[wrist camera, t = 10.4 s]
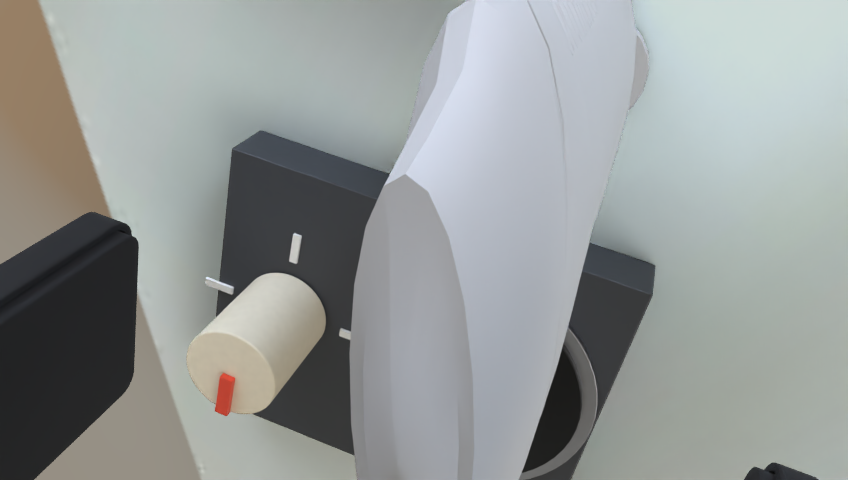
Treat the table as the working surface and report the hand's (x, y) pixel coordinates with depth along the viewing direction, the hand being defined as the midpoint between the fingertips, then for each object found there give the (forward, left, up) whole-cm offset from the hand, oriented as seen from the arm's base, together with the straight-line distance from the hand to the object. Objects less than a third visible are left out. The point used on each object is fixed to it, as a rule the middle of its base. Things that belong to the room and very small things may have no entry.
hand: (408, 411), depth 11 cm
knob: (+9, +14, -18) cm, 25 cm away
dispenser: (0, 0, -21) cm, 21 cm away
